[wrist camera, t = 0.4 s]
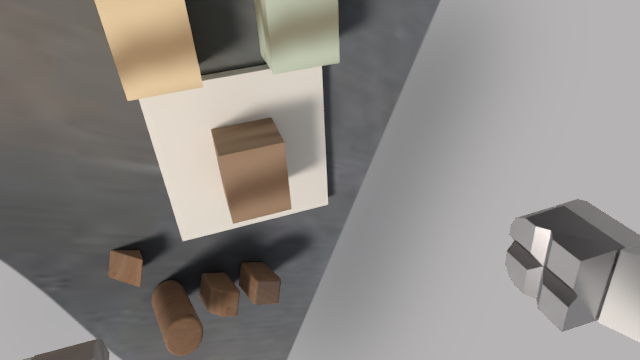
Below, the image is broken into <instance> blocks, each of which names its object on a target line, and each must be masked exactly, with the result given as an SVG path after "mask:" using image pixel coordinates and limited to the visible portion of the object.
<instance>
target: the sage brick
mask: <svg viewBox="0 0 640 360" xmlns="http://www.w3.org/2000/svg"><path fill="white" fill-rule="evenodd" d="M254 2H255V10H256V18H257V26H258V34H259V41H260V49H261V55H262V57H263V58H264V60H265V62H266V63H267V65H268V66H269V68H270V69H271V71H272V73H273V74H279V73H285V72H291V71H296V70H302V69H307V68H313V67H319V66H324V65H330V64H335V63H339V16H338V0H254Z"/></svg>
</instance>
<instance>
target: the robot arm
mask: <svg viewBox="0 0 640 360" xmlns="http://www.w3.org/2000/svg"><path fill="white" fill-rule="evenodd" d="M510 235H511V237H512V238H513V240H514V242H513V243H512V245H511V246H510V247H509V249H508V250H507V254H506V267H507V271H508V274H509V277H510V278H511V280H512V281H513V283H514V285H515V286H516V287H517V288H518V289H519V290H520V291H521V292H522V293H524V294H526V295H529V296H531V297H534V298H537V305H538V309H539V310H540V311H542V313H543V314H544V315H545V316H546V317H547V318H548V319H549V320H550V321H551V322H552V323H554V324H555V325H556V326H557V327H558V328H559V329H560V330H561V331H565V330H569V329H572V328H574V327H578V326H581V325H584V324H587V323H590V322H593V321H596V320H598V322H599V323H601V324H603V325H605V326H607V327H609V328H611V329H613V330H616V331H617V332H619V333H621V334H624V335H626V336H628V337H630V338H632V339H634V340H636V341H638V342H640V235H639V234H637V233H636V232H634V231H632V230H631V229H629V228H628V227H626V226H624V225H623V224H621V223H619V222H618V221H617V220H615V219H613V218H612V217H610V216H609V215H607V214H606V213H604V212H602V211H601V210H599V209H598V208H596V207H595V206H593V205H591V204H590V203H588V202H587V201H583V200H579V199H577V200H573V201H570V202H567V203H564V204H560V205H557V206H556V207H551V208H548V209H544V210H541V211H538V212H534V213H531V214H528V215H524V216H521V217H518V218H515V220H514V221H513V223H512V224H511V228H510ZM24 360H109V351H108V349H107V348H106V346H105V344H104V342H103V340H100V339H96V340H92V341H88V342H85V343H81V344H77V345H74V346H70V347H66V348H62V349H58V350H55V351H51V352H47V353H43V354H40V355H36V356H34V357H31V358H27V359H24Z"/></svg>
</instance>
